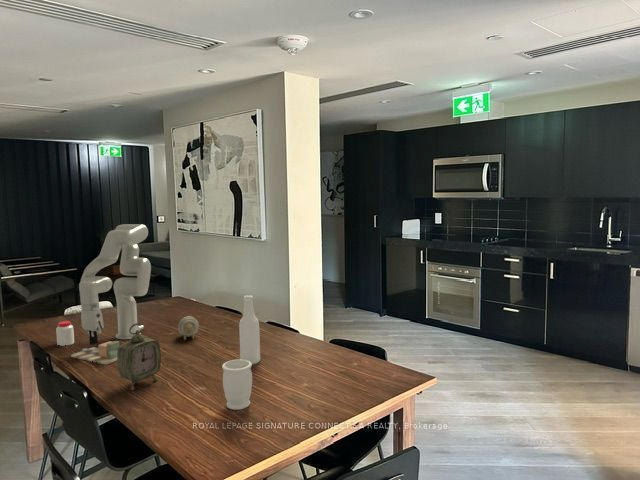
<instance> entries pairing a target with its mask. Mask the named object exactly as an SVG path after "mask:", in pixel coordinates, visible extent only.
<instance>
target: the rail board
mask: <svg viewBox="0 0 640 480" xmlns="http://www.w3.org/2000/svg"><path fill="white" fill-rule="evenodd" d="M119 346H120V341H119V340H114V341H111V343H108V344H107V358H104V357H100V355H99V347H94V346H93V347H90V348H86V347H84V348H82V349H81V351H78V352H77V351H76V352H75V353H72V354H70V357H71V358H75V359H78V360H84V361H88V362H92V361H93V363H96V362H97V364H100V365H105V366H106V365H108V364H112V363H114V362H117V351H118V347H119Z"/></svg>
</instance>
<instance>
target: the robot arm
mask: <svg viewBox="0 0 640 480" xmlns="http://www.w3.org/2000/svg"><path fill="white" fill-rule="evenodd" d="M148 235H149V229H148V227H147V225H145V224H141V223H140V224H139V223H137V224H135V223H133V224H129V223H126V224H123V223H122V224H119V225H117V226H116V227H115V229H113V230H110V231H108V233H107V235H106V237H105V240H104V243H103V245H102V247H101V250H100V253H99V255H98V256H97V257H96V258H94V259H93V260H92V261H91V262H90V263H89V264H88V265H87V266H86V267H85V269H84V270H83V273H82V276H81V278H80V282H79V284H78V288H79V289H78V290H79V297H80V309H81V314H80V319H81V322H80V323H81V327H82V329H83V330H84V331H85V332H86V333H87V335H88V339H89V345H90V346H94V345H97V344H98V343H99V340H98V339H99V338H98V335H99V334H101V333H102V330H103V329H105V327H104V325H105V324H104V319H103V313H102V310H101V308H100V302H99V301H100V300H99V294H102V293H106V292H109V291H110V290H111V289H112V286H113V292H114V295H115V300H116V313H117V330H118V331H117V332H118V333H116V334H115V339H118V340H131V338H132V336H133V335H135V334H131V333H130V332H129V329H130V327H131V326H132V325H134V324H136V323H138V312H137V311H138V310H137V301H136V300H135V298H134V297H143V296H145V295H147V293H148V290H149V286H150V281H151V280H150V279H151V271H152V264H151V262H150V260H149V259H148V258H146V257H139V256H140V255H139V254H140V248H139V246H138V244H140V243H142V242H143V241H145V240H146V239H147V237H148ZM120 252H121V253H120ZM120 254H121V256H120ZM119 256H120V263H119V272H120V274H122V275H124V276H137V277H120V278H117V279H115V281H114V282H113V281H112V279H111V278H110V277H108V276H102V275H101V276H100V275H99V276H98V275H96V274H97V273H99V271H100V270H102V269H104V268H105V267H108V266H110V265H113V264H115V263H117V261H118V259H119ZM143 328H144V326H143V325H141V324H139V325H135V326H133V327H132V328H131V332H132V333H136V330H138V331H141V330H142V329H143ZM144 329H145V328H144ZM139 334H142V332H141V333H139Z"/></svg>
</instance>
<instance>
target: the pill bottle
mask: <svg viewBox="0 0 640 480" xmlns="http://www.w3.org/2000/svg"><path fill="white" fill-rule="evenodd" d="M57 324H58V325H57V327H56V329H55V331H56V334H55V335H56V345H57V346H58V345H60V346H59V347H64V346H65V345H66V346H69V345H70V346H71V345H72V344H74V343H75V333H74V332H75V331H74V325H72V323H71V321H69V320H64V321H59V322H58V323H57Z"/></svg>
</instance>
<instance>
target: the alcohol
mask: <svg viewBox="0 0 640 480" xmlns="http://www.w3.org/2000/svg"><path fill="white" fill-rule="evenodd" d="M238 328H239V329H238V330H239V358H240V359H243V360H248V361H250V362H251V363H252V366H253V365H257V364H258V363H259V362H260V361H261V343H260V341H261V339H260V335H261V334H260V321H259V319H258V318H257V316H256V315H255V309H254V298H253V295H252V294H247V295H244V296H243V316H242V317H241V319H240V320H239V324H238Z"/></svg>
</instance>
